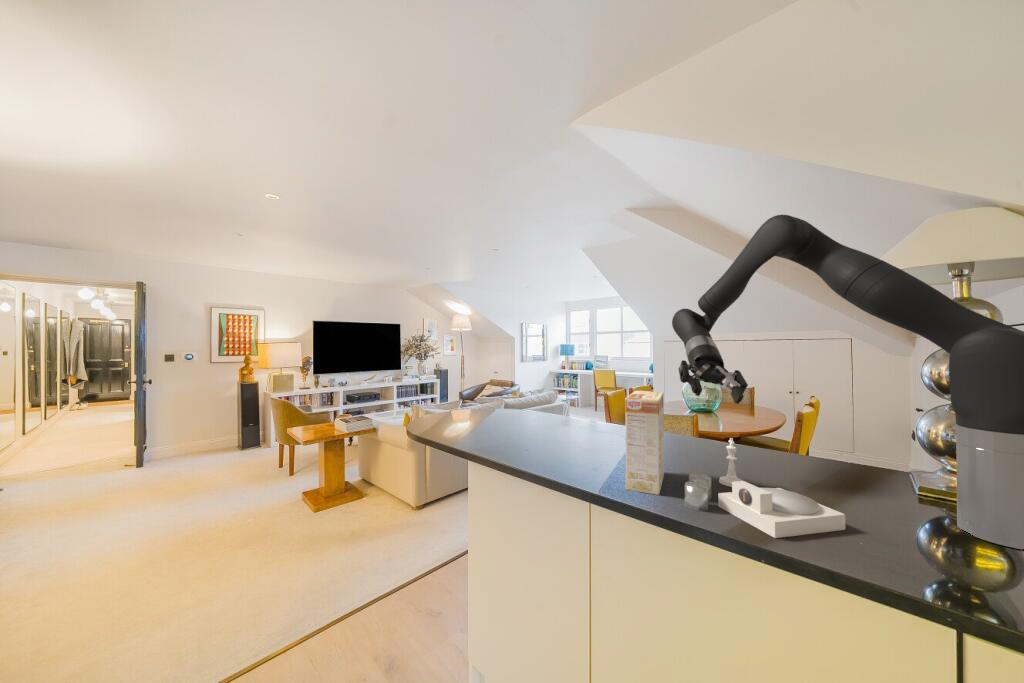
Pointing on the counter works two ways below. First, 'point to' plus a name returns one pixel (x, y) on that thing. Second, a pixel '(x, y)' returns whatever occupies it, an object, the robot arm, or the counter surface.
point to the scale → (779, 511)
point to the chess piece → (730, 466)
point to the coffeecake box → (644, 441)
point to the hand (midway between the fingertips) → (719, 396)
